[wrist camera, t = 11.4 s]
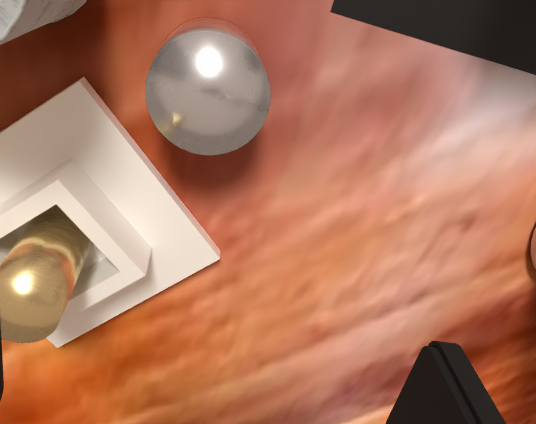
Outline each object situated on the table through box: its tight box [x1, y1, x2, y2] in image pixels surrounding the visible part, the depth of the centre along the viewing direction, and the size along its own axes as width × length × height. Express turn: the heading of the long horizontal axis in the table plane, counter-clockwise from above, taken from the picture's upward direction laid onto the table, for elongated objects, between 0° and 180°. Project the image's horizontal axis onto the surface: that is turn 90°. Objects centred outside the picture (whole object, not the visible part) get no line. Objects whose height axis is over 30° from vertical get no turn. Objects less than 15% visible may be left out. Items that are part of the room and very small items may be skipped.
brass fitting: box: [0, 204, 93, 343], centre depth 31 cm, size 4×4×9 cm
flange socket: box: [0, 77, 220, 348], centre depth 34 cm, size 16×16×5 cm
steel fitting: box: [145, 17, 271, 155], centre depth 29 cm, size 7×7×6 cm
